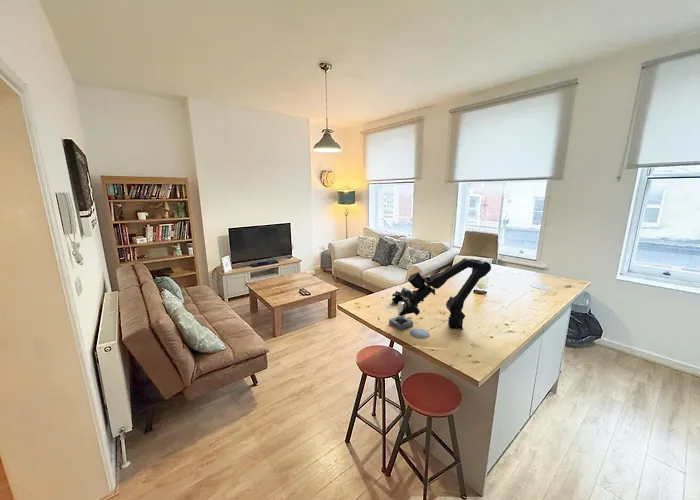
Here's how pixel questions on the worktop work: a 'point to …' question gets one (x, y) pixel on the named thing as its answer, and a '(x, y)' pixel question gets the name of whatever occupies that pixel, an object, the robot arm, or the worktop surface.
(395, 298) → the end cap
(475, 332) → the worktop surface
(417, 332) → the rubber pad
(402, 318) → the steel peg
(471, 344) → the worktop surface
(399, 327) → the socket block
